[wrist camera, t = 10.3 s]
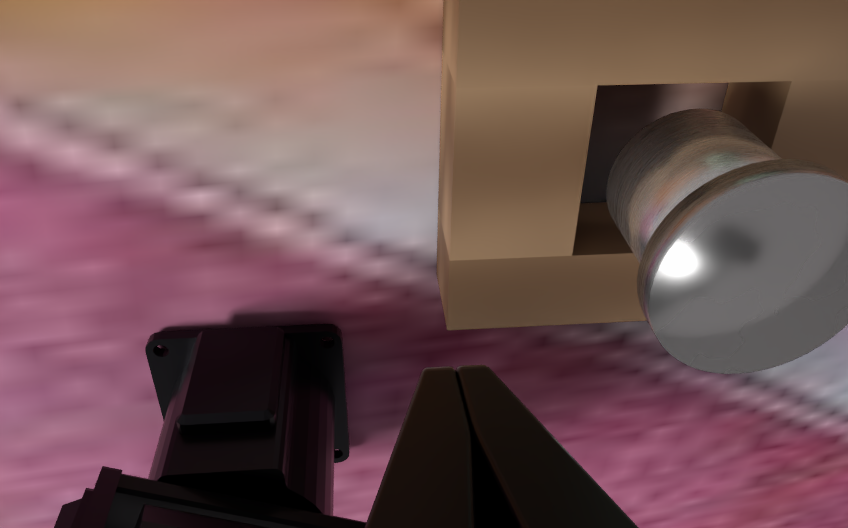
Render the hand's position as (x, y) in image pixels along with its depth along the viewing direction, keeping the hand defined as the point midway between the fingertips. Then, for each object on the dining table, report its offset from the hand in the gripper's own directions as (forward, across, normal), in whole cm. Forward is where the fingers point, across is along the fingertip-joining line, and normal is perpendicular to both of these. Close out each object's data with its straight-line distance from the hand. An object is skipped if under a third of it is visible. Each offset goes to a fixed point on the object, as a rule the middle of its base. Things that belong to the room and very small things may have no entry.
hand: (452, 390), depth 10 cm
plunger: (+9, -7, +2) cm, 12 cm away
